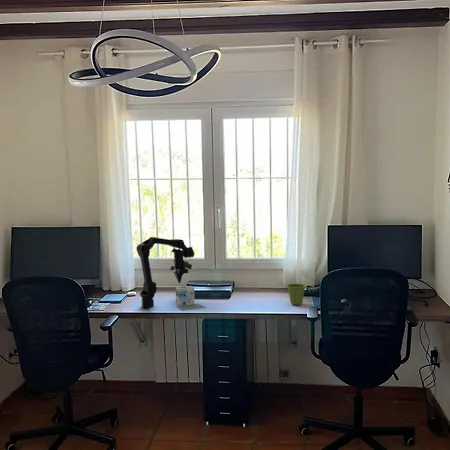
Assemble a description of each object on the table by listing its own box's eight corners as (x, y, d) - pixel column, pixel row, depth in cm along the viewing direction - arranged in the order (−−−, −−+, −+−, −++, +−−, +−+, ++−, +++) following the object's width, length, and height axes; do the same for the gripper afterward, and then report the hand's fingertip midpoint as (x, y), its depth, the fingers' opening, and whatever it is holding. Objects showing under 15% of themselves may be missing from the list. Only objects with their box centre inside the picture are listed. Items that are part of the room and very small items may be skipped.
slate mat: (182, 310, 309) (182, 310, 309) (176, 306, 319) (176, 306, 319) (205, 307, 315) (205, 307, 315) (199, 304, 325) (199, 303, 325)
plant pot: (290, 306, 313) (290, 287, 313) (284, 302, 325) (284, 284, 324) (309, 304, 316) (308, 286, 315) (302, 300, 327) (302, 283, 326)
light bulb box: (178, 306, 321) (178, 288, 320) (175, 304, 327) (175, 287, 326) (195, 304, 325) (194, 287, 324) (191, 302, 331) (191, 285, 330)
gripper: (195, 259, 328) (196, 283, 329) (185, 256, 345) (186, 279, 346) (178, 260, 323) (179, 285, 324) (169, 257, 340) (170, 281, 341)
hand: (179, 282), depth 334 cm, fingers closed
